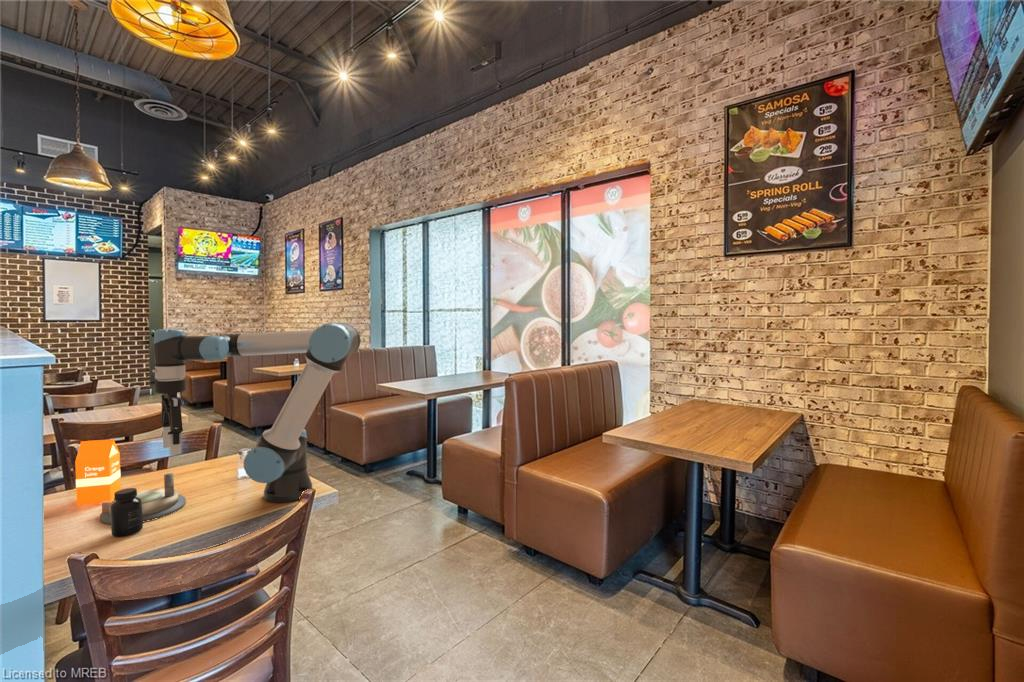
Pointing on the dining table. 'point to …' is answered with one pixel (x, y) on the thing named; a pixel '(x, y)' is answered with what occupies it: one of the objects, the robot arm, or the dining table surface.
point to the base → (106, 518)
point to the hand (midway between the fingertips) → (172, 450)
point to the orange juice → (97, 471)
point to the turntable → (157, 497)
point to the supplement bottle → (126, 513)
